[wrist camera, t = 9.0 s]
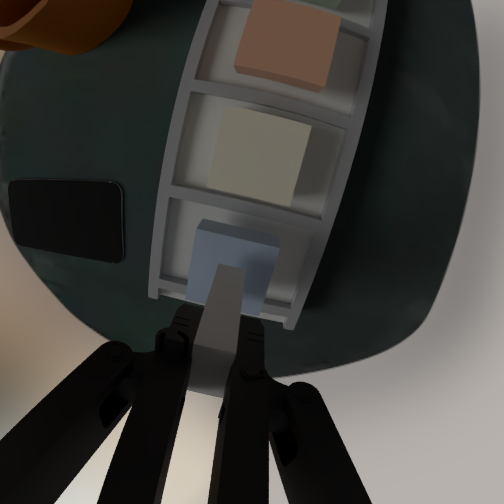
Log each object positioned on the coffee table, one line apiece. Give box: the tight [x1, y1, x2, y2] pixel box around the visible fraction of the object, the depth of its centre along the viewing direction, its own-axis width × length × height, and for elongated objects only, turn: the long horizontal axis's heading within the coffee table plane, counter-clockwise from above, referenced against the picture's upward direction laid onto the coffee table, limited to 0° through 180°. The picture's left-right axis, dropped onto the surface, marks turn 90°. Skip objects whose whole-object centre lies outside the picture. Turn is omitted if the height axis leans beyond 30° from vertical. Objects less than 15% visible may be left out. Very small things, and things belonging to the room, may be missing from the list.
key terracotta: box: [233, 0, 342, 93], centre depth 12 cm, size 5×5×2 cm
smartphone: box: [8, 179, 124, 263], centre depth 21 cm, size 7×1×15 cm
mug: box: [0, 0, 133, 55], centre depth 9 cm, size 9×12×9 cm
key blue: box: [185, 219, 280, 316], centre depth 17 cm, size 5×5×2 cm
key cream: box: [207, 105, 312, 207], centre depth 16 cm, size 5×5×2 cm
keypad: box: [148, 0, 388, 330], centre depth 16 cm, size 31×12×3 cm, turn 166°
